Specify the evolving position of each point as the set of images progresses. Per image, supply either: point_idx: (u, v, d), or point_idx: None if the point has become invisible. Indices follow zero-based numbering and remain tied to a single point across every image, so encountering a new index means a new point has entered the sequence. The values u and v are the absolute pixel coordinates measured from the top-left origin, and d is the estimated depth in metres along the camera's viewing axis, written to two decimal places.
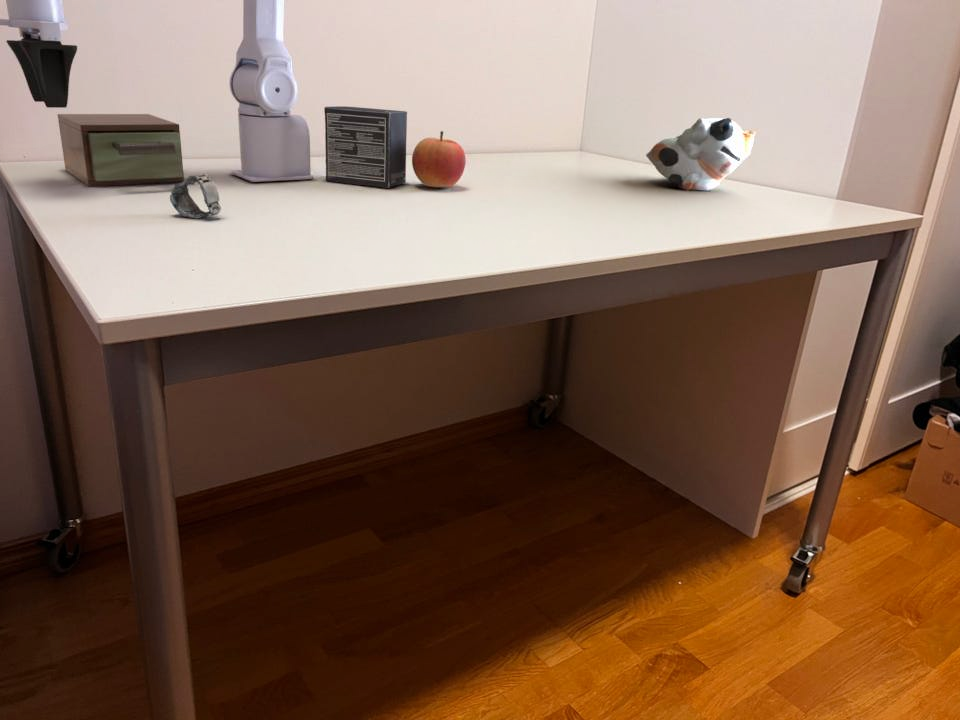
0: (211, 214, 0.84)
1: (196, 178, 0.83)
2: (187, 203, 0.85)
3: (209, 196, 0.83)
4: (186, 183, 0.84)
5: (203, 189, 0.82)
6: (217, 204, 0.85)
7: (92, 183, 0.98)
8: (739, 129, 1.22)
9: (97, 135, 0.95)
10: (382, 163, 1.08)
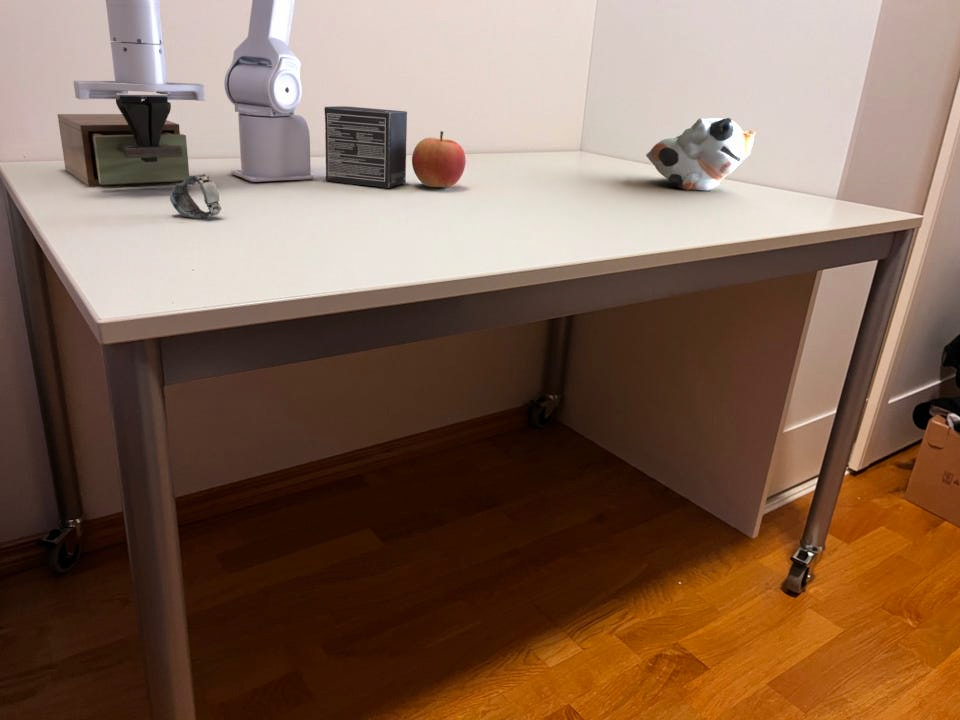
0: (211, 214, 0.84)
1: (196, 178, 0.83)
2: (187, 203, 0.85)
3: (209, 196, 0.83)
4: (186, 183, 0.84)
5: (203, 189, 0.83)
6: (217, 204, 0.85)
7: (92, 183, 0.98)
8: (739, 129, 1.22)
9: (102, 138, 0.93)
10: (382, 163, 1.08)
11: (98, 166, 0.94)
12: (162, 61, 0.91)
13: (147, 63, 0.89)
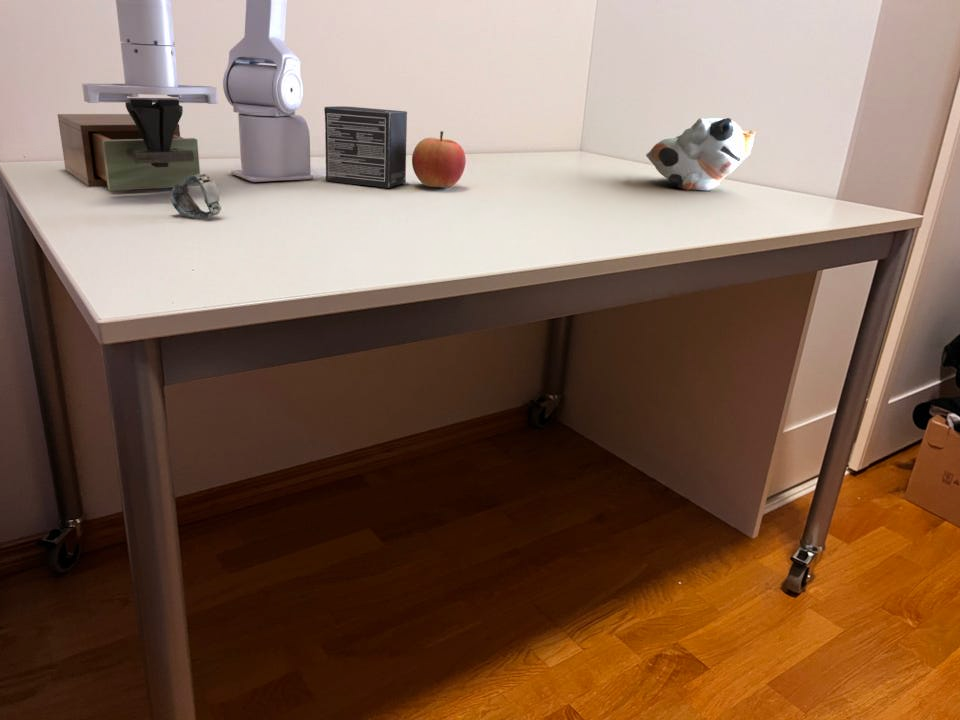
0: (211, 214, 0.84)
1: (196, 178, 0.83)
2: (187, 203, 0.85)
3: (209, 196, 0.83)
4: (186, 183, 0.84)
5: (203, 189, 0.83)
6: (217, 204, 0.85)
7: (92, 183, 0.98)
8: (739, 129, 1.22)
9: (112, 142, 0.90)
10: (382, 163, 1.08)
11: (107, 171, 0.91)
12: (174, 63, 0.87)
13: (159, 65, 0.86)
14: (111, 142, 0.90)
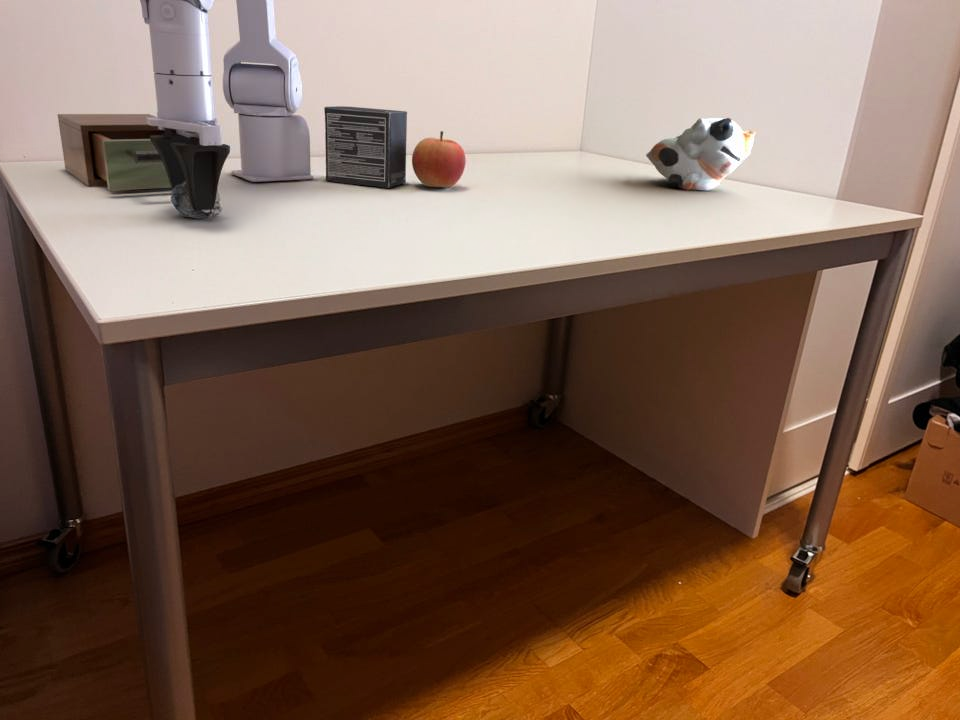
0: (212, 214, 0.84)
1: None
2: (188, 203, 0.85)
3: None
4: None
5: None
6: (218, 204, 0.84)
7: (92, 183, 0.98)
8: (739, 129, 1.22)
9: (112, 142, 0.90)
10: (382, 163, 1.08)
11: (107, 171, 0.91)
12: None
13: None
14: (111, 142, 0.90)
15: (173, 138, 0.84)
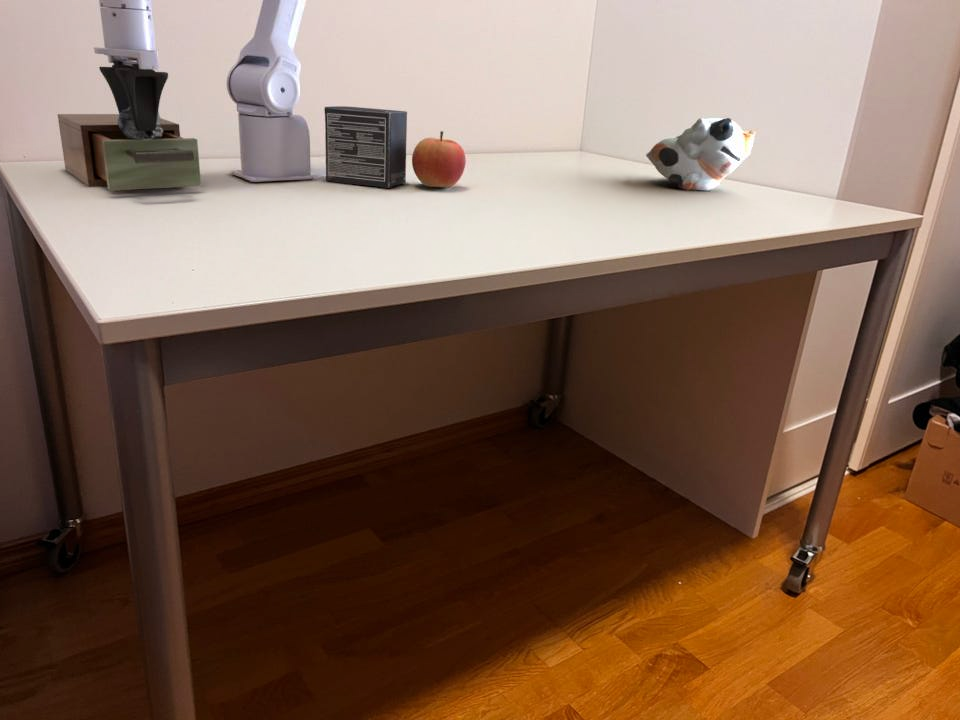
0: (154, 136, 0.95)
1: None
2: (133, 127, 0.96)
3: None
4: None
5: None
6: (160, 127, 0.96)
7: (92, 183, 0.98)
8: (739, 129, 1.22)
9: (112, 142, 0.90)
10: (382, 163, 1.08)
11: (107, 171, 0.91)
12: None
13: None
14: (111, 142, 0.90)
15: (120, 68, 0.95)
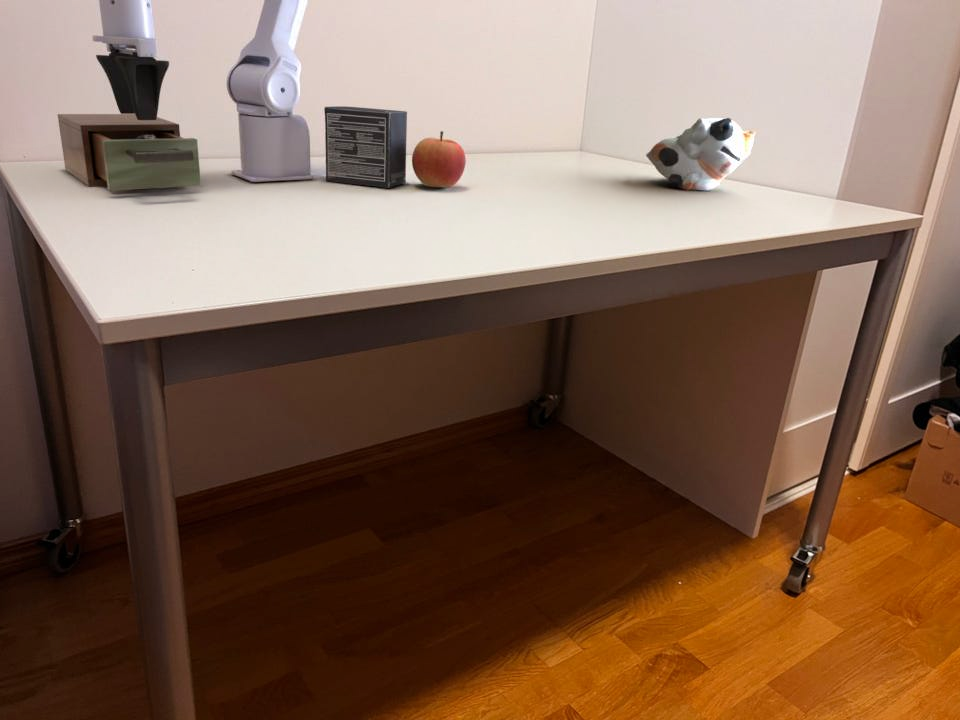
0: None
1: (145, 138, 0.95)
2: None
3: None
4: None
5: None
6: None
7: (92, 183, 0.98)
8: (739, 129, 1.22)
9: (112, 142, 0.90)
10: (382, 163, 1.08)
11: (107, 171, 0.91)
12: None
13: None
14: (111, 142, 0.90)
15: None
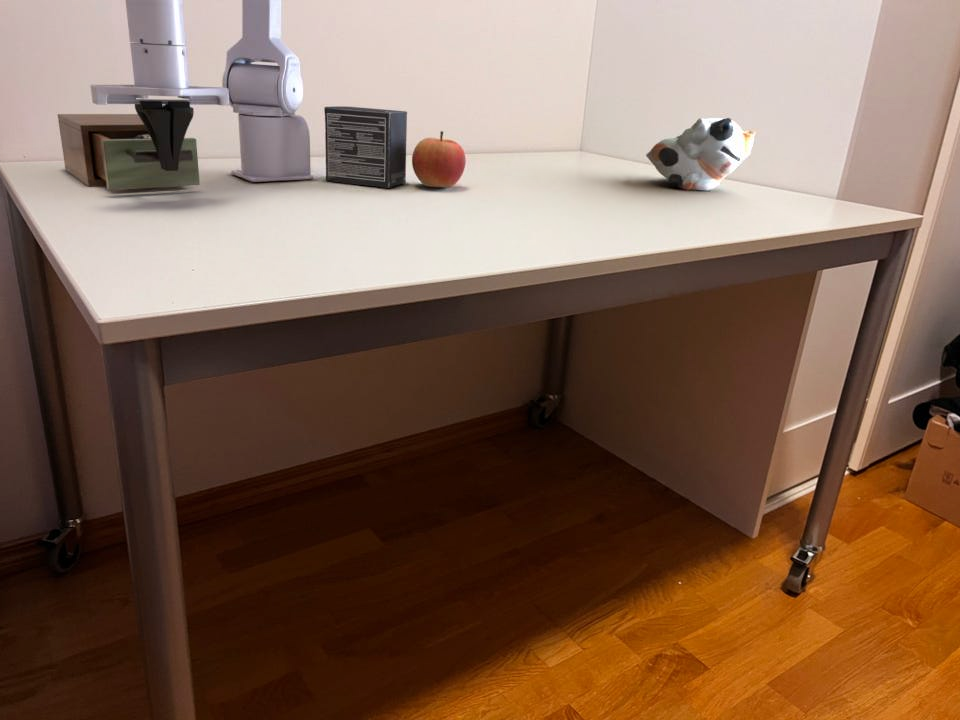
0: None
1: (144, 137, 0.95)
2: None
3: None
4: None
5: None
6: None
7: (92, 183, 0.98)
8: (739, 129, 1.22)
9: (111, 142, 0.90)
10: (382, 163, 1.08)
11: (106, 171, 0.91)
12: None
13: None
14: (110, 142, 0.90)
15: None
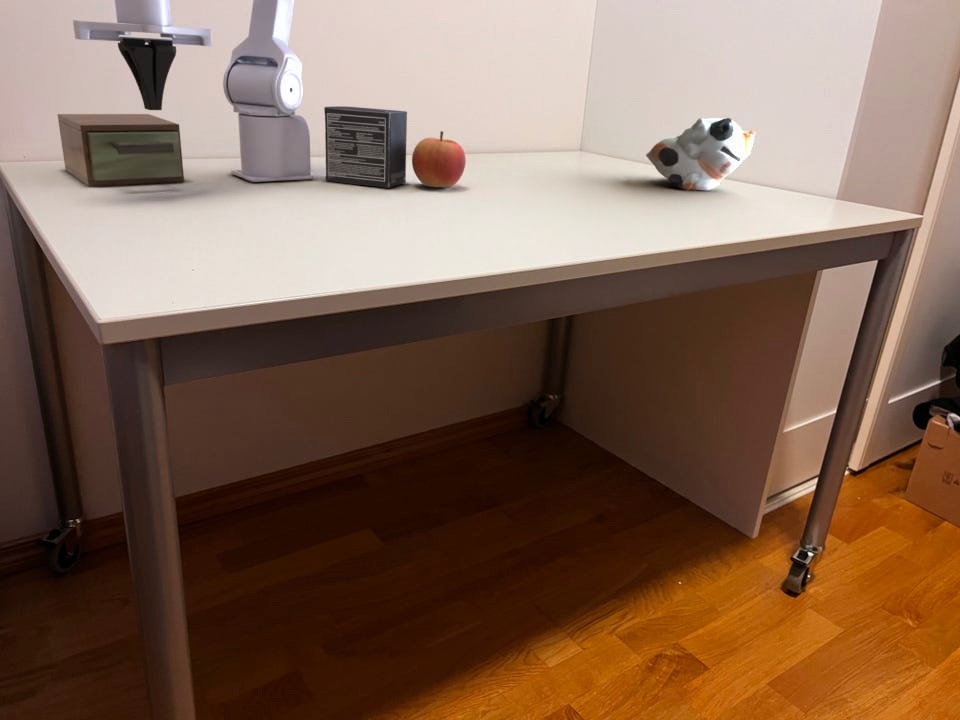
0: None
1: (128, 131, 1.01)
2: None
3: None
4: None
5: None
6: None
7: (92, 183, 0.98)
8: (739, 129, 1.22)
9: (96, 135, 0.95)
10: (382, 163, 1.08)
11: (92, 162, 0.96)
12: None
13: None
14: (95, 134, 0.95)
15: None
